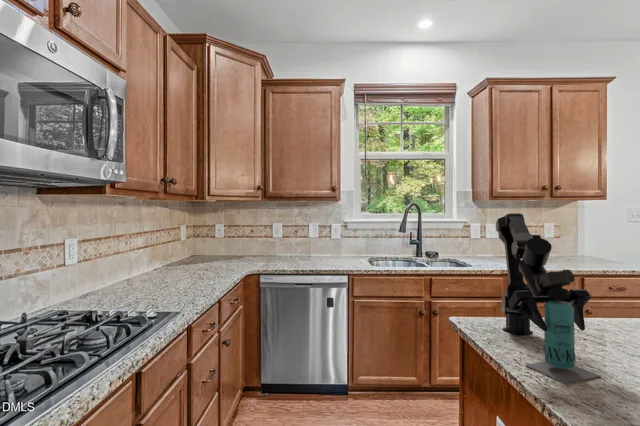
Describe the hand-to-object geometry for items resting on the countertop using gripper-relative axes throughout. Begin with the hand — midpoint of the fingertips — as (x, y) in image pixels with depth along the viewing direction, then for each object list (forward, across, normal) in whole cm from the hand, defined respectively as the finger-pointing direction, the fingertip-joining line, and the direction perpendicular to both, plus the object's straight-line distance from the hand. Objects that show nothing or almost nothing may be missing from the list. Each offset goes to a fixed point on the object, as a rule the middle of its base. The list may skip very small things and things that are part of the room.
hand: (564, 330), depth 89 cm
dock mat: (+6, 0, +8) cm, 11 cm away
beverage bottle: (+6, 0, +8) cm, 10 cm away
